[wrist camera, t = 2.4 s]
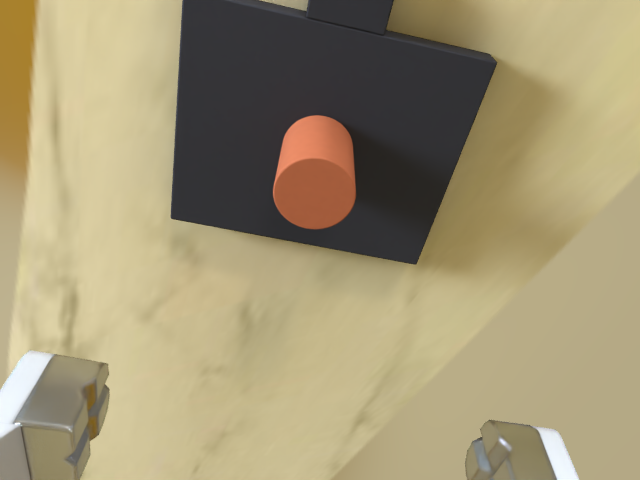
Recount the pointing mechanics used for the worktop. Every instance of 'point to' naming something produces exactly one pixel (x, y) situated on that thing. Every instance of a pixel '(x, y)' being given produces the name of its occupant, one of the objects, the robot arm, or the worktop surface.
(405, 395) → the worktop surface
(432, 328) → the worktop surface
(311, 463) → the worktop surface
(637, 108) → the worktop surface
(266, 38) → the tab pad
